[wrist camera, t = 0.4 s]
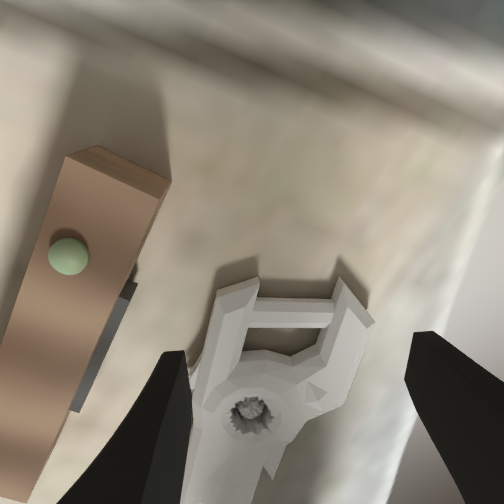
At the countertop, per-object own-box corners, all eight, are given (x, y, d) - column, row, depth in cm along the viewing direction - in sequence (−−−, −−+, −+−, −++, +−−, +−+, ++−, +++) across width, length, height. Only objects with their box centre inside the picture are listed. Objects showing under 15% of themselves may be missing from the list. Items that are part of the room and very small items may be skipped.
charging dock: (63, 448, 26) (33, 512, 22) (-7, 427, 25) (-52, 491, 21) (182, 186, 20) (171, 207, 16) (96, 145, 19) (61, 157, 15)
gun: (301, 540, 26) (153, 523, 25) (293, 494, 29) (162, 476, 28) (395, 300, 21) (213, 262, 19) (372, 276, 24) (215, 242, 23)
